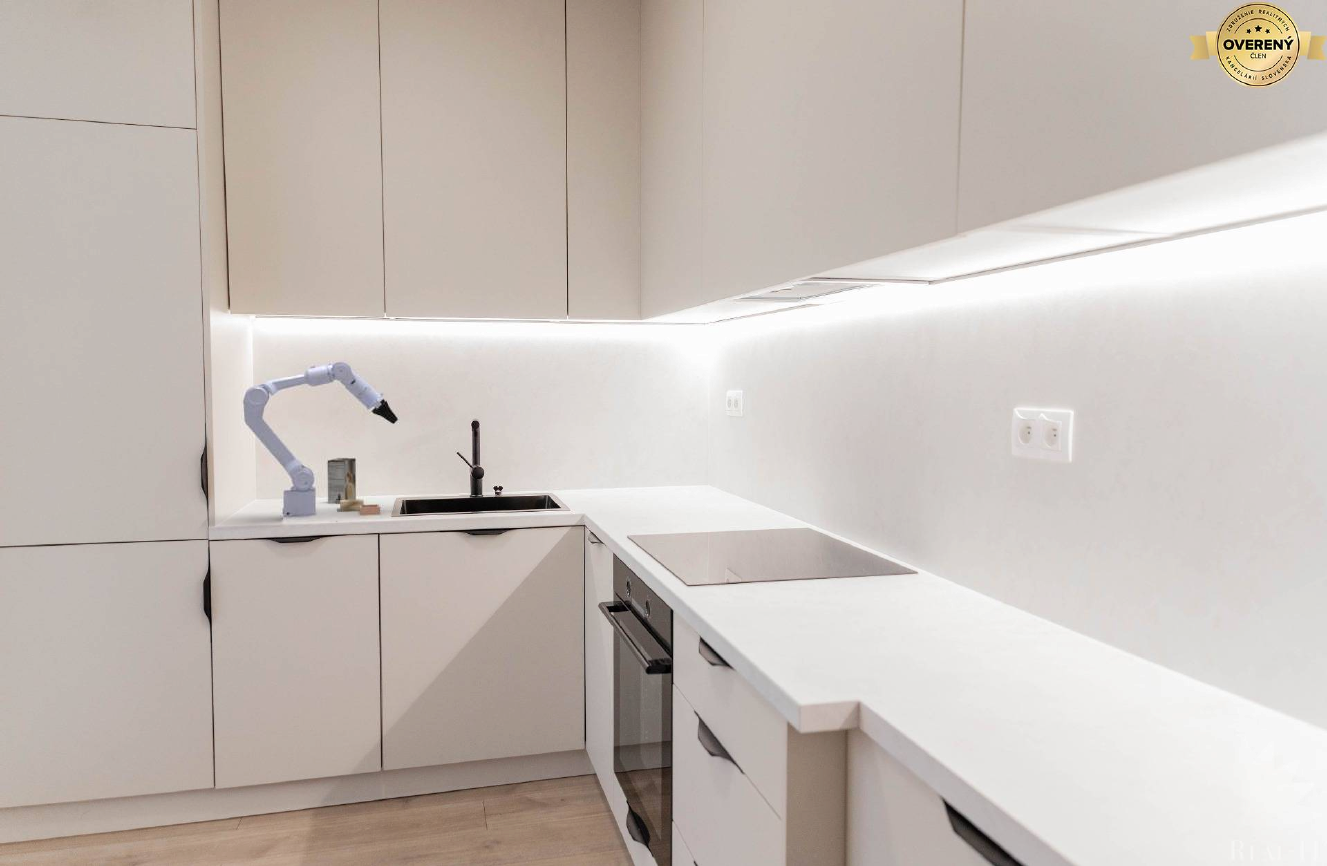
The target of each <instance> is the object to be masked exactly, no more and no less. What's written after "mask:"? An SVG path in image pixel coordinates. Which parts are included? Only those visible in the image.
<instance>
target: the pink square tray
mask: <svg viewBox="0 0 1327 866" xmlns="http://www.w3.org/2000/svg"><path fill="white" fill-rule="evenodd" d="M358 513H359V515H360V516H372V515H374V516H375V515H381V506H380V504H378V503H377V504H376V503H375V504H364V505H359V511H358Z"/></svg>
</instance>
